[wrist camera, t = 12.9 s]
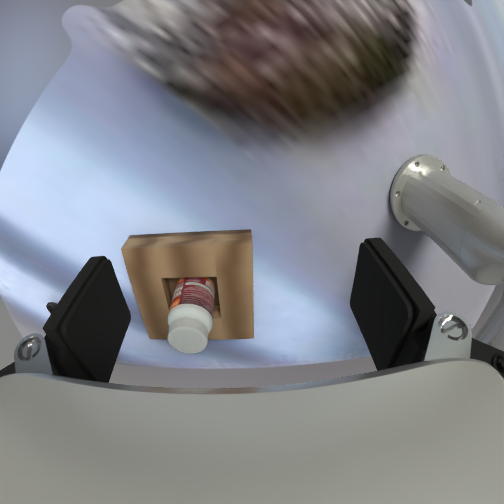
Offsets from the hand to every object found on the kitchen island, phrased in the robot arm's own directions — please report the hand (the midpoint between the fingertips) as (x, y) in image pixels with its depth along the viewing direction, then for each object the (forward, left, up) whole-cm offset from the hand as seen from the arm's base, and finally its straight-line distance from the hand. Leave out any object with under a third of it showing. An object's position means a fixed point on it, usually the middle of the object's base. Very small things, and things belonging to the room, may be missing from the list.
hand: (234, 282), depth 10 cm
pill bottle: (+7, +20, -27) cm, 34 cm away
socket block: (+7, +20, -28) cm, 35 cm away
